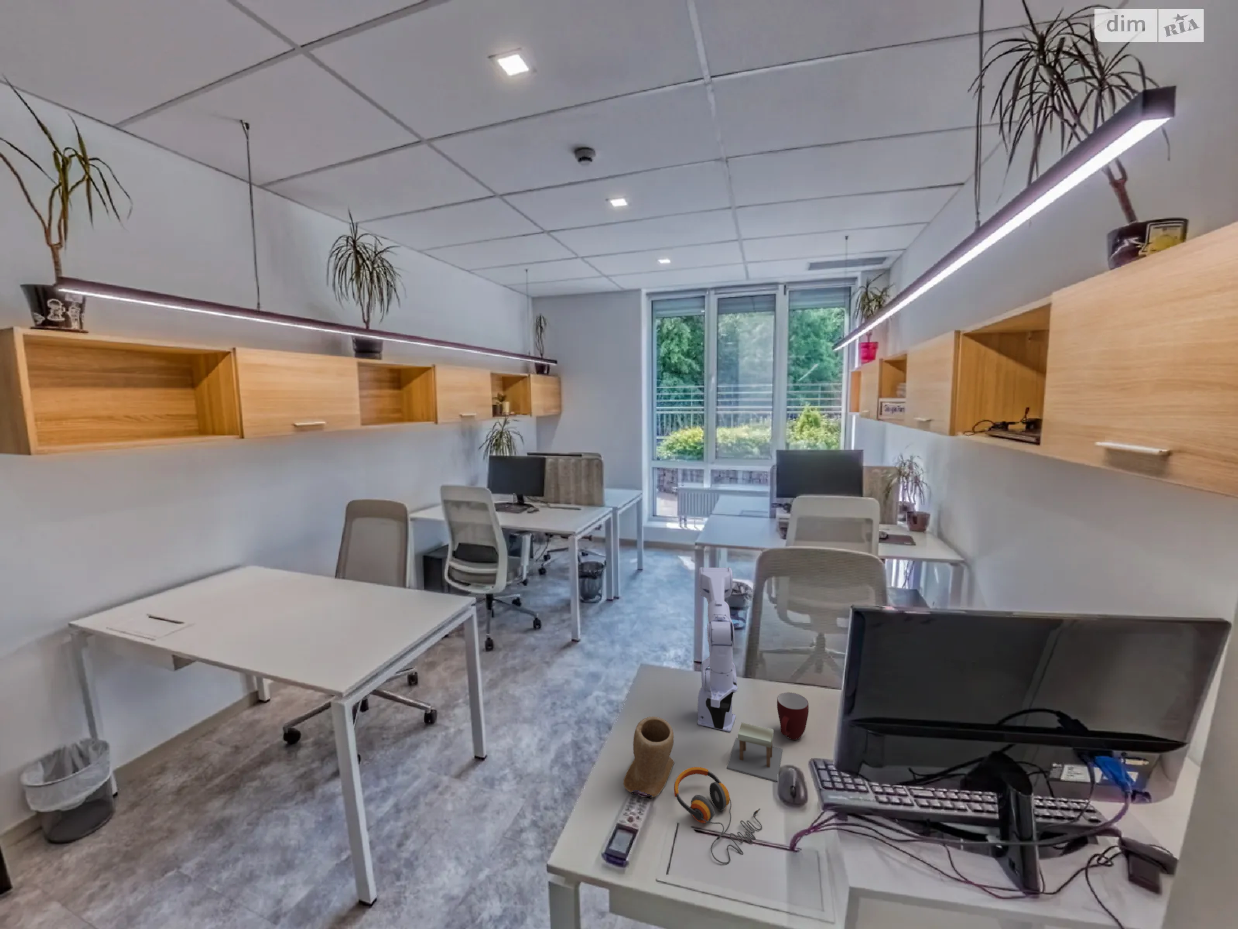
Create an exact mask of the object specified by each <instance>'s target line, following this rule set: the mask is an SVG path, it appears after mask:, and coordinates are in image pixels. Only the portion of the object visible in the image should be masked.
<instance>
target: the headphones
mask: <svg viewBox="0 0 1238 929" xmlns="http://www.w3.org/2000/svg"><path fill="white" fill-rule="evenodd" d="M691 775H703V776H705V777H709V778H711V779H712V780H714V781H713V782H711V783H710V784H709V797H710V800H711V801H710V800H709V799H707V797H706V796H703V795H701V794H695V795H693V797H692V798H691V800H690V806H689V805H688V804H687V803H685V801H684V800H683V799H682V797H681V796H680V793H679V786H680V783H681V782H682V781H683V780H684V779H686V778H687V777H690V776H691ZM673 792H674V793H673V794H674V797H675V798H676V800H677V802H678V804H680V806H681V807H682V808H683V809H685V810H686V812H688V813H690V815H692V817H693V818H694V820H696V821H697V822H699V823H701V824H706V823H708V824H713V825H721V826H722V831H721V833H720V835H718V836H717V837H716V838H715V839H714V841H713V842H712V843H711V845H710V854H711V856H712V857H713V858H714V860H715V861H717V862H718V863H720V864H723V865H727V864H729V863H730V862H731V856H730V853H729V847H732V848H733V849H735V850H736V851H737V853H738V854H740V855H744V851H743V850H742V849H741V848H740V846H739V845H738V844H737V843H736V841H735V840H734V838H732V835H733V836H734V837H735V839H736V840H737V841H738V842H739V843H741V844H743V843H744V840H745V841H746V842H747V843H748V844H749V845H753V843H754V841H756V840H757V839H756V836H755V835H754V834H753V833H755V830H757V831H761V830H762V829H763V825H762V823H761V822H760V821H759V820H758V819H757V818H756V816H755V815H756V814H758V812H759V811H760V810H761V808H758V809H757V810H755V811H754V812H753V814H752V815H753V818H754V819H755V821H756V822H757V823H758V824H759V825H760V828H758V827H756V826H755V825H754V824H753V823H752V822H751V821H750V820H748V819H747V820H746V822H745V821H744V820H740V821H739V823H740V825H741V826H742V827H743V828H744V829H745V830H746V831H744V834H745V835H746V837H747V838H748V839H747V838H746V837H745V836H744V834H742V832H740V831H737V832H736V833H737V835H736V834H734V833H731V832H730V834H729V838H730V839H731V841H732V842H733V844H734V845H735V846H736V847H737V848H736V847H735V846H734V845H732V844H727V846H726V850H727V851H726V852H727V855H728V861H726V862H725V861H724V862H723V861H720V860H719V859H717V857H715V855H714V853H713V846H714V845H715V843H716V842H717V841H719V840H720V839H721V837H722V836H724V835H725V833H726V832H728V829H729V827H730V825H731V823H732V813H731V809H732V800H731V798H730V793H729V790H728V788H727V787H726V786H725V784H724V783H722V782H721V780H720V779H719V777H717V776H716V774H714V773H712V772H711V771H710V770H709V769H708V768H705V767H702V766H700V767H699V766H694V767H689V768H686V769H684V770H683V771H682V772H680V773H679V774H678V776H677V777H676V780H675V782H674V784H673ZM711 802H712V803H711ZM728 805H729V822H728V825H727V827H726V829H725V827H724V824H723V823H722V822H716V821H715V822H711V820H712V819H713V818H714V816H715V810H714V809H716V810H718V811H723V810H725V809H726V808H727V806H728ZM714 807H715V808H714ZM738 837H739V838H740V839H739V838H738ZM751 838H752V839H751ZM743 839H744V840H743ZM750 841H751V842H750ZM738 849H739V850H738Z"/></svg>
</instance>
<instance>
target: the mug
mask: <svg viewBox="0 0 1238 929" xmlns="http://www.w3.org/2000/svg"><path fill="white" fill-rule="evenodd" d="M776 708H777V715H778V721H779V725H780V727H779V729H780V730H779V731H780V733H781V734H782V735H783V736H785V737H786V738H788V739H789V740H793V741H794V740H795V741H797V740H799V739H800V738H801V737H802V736H803V734H804V733H805V731H806V729H807V728H806V727H807V723H808V719H809V718H808V717H809V711H810V710H809V708H810V707H809V701H808V699H807V697H805V696H803V695H802V694H799V693H796V692H789V691H788V692H783V693H780V694H779V695H777V697H776Z"/></svg>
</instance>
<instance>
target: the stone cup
mask: <svg viewBox="0 0 1238 929" xmlns="http://www.w3.org/2000/svg"><path fill="white" fill-rule="evenodd" d="M674 738H675V736H674V730H673V728H672V726H671V724H670V722H668V721H667V720H666V719H664V718H662V717H659V716H647V717H645V718H642V719H641V720H640V721H639V722H638V723H637V725H636V727H635V729H634V733H633V742H632V746H633V747H632V750H633V751H632V752H633V757H634V758H633V760H632V762H631V764H630V765H629V767H628V769H627V771H626V773H625V776H624V778H623V783H622V784H623V787H624V789H625V790H626V791H628V792H629V793H631V792H632V791H633V790H639V791H641V792H645V793H647V794H650V795H652V796H653V797H652V798H655V797H657V796H658V795H659V794H660V793H661V792H662V790H663V789H664V787H665V786H666V783H667V781H668V779H669V776H670V774H671V771H672V769H673V766H674V763H675V760H674V759H673V758H672V757H671V753H672V750H673V747H674V744H675V743H674V741H675V740H674Z"/></svg>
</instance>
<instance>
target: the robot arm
mask: <svg viewBox="0 0 1238 929" xmlns="http://www.w3.org/2000/svg"><path fill="white" fill-rule="evenodd" d="M733 583H734V581H733V570H732V568H731V567H730V566H728V567H704V566H700V567H699V569H698V584H699V593H700V596H701V597H702V598H703V597H704V599H706V602H707V604H708V606H707V614H708V615H707V616H708V618H707V620H708V621H707V622H708V623H707V627H706V628H707V629H706V630H707V632H706V633H707V634H706V635H707V643H708V653H709V656H708V657H706V659H704V660H702V663H701V670H700V672H701V676H700V678H701V687H700V688H699V692H698V695H697V725H699V726H703V727H706V728H712V729H715V730H721V731H724V732H729V733H730V732H732V730H733V727H734V723H735V720H736V716H737V715H736V714H734V713H733V696H734V694H735V693H736V692H738V690H739V687H738V680H737V679H738V678H737V671H736V665H735V663H734V662H733V656H734V655H733V646H734V645H735V627H734V623H733V620H732V618H731V611H730V610H731V609H730V605H729V604H728V603H727V602H726V601H725V600H726V599H728V598H729V597H731V594H732V593H733V592H732V591H733V586H734V585H733Z"/></svg>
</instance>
